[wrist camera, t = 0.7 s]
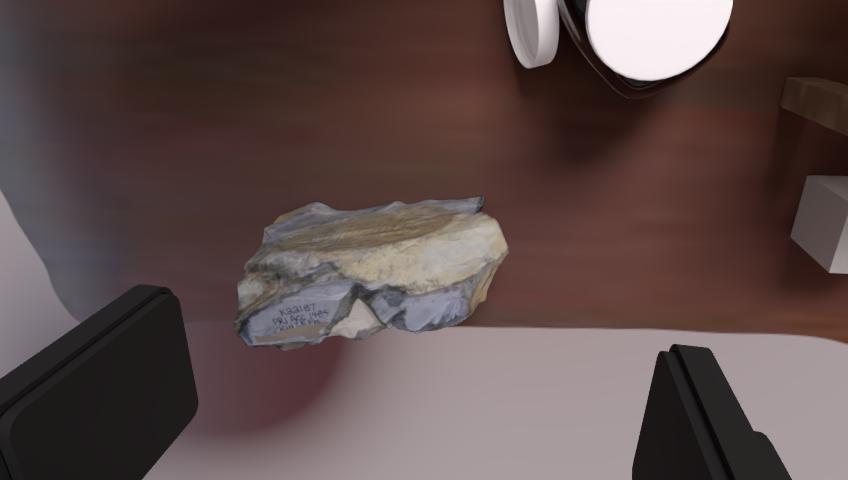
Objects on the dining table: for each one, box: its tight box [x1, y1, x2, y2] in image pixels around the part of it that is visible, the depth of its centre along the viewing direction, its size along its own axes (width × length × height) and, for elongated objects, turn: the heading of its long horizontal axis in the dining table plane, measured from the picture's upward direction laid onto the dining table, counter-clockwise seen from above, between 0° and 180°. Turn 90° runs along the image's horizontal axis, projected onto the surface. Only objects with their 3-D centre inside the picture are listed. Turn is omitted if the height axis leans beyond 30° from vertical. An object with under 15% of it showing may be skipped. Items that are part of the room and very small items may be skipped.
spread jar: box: [504, 0, 733, 99], centre depth 32 cm, size 12×11×12 cm
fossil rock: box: [234, 196, 509, 351], centre depth 43 cm, size 20×9×15 cm, turn 99°
